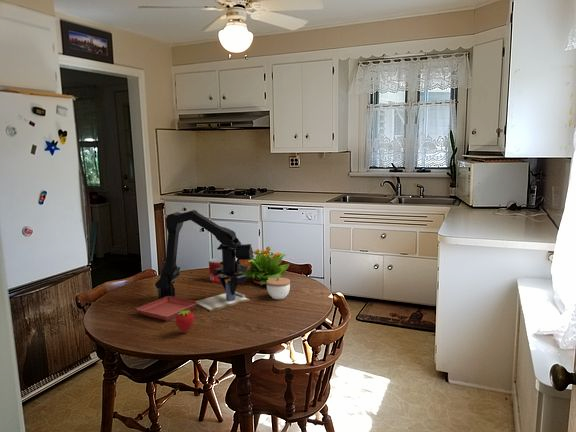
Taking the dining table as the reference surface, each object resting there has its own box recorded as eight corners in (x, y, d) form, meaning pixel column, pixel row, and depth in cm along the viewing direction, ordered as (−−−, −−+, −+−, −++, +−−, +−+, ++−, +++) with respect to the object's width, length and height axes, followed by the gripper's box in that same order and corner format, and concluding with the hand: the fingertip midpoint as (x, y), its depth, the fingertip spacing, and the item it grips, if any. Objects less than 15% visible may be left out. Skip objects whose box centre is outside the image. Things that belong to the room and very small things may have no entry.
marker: (229, 301, 193) (228, 281, 191) (224, 299, 196) (223, 279, 194) (237, 299, 195) (236, 279, 194) (232, 297, 198) (231, 277, 197)
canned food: (224, 282, 224) (223, 261, 222) (208, 283, 224) (207, 261, 222) (226, 278, 231) (225, 257, 230) (211, 278, 232) (210, 258, 230)
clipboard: (210, 311, 184) (210, 308, 183) (192, 302, 195) (192, 299, 195) (249, 300, 196) (249, 296, 196) (231, 292, 208) (230, 289, 208)
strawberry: (199, 331, 164) (197, 305, 163) (183, 338, 158) (182, 311, 156) (187, 327, 167) (186, 302, 166) (172, 334, 161) (170, 308, 160)
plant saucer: (167, 324, 172) (166, 315, 172) (135, 316, 182) (135, 308, 181) (199, 309, 188) (198, 301, 187) (168, 302, 197) (168, 295, 196)
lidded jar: (262, 299, 198) (261, 278, 197) (274, 292, 207) (273, 272, 206) (283, 302, 193) (283, 281, 192) (294, 295, 202) (294, 275, 201)
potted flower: (230, 286, 218) (228, 251, 215) (248, 273, 240) (247, 241, 238) (278, 290, 210) (277, 254, 208) (292, 276, 233) (291, 243, 230)
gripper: (256, 259, 191) (257, 294, 193) (232, 252, 205) (233, 285, 207) (235, 264, 184) (236, 300, 186) (211, 256, 198) (213, 290, 200)
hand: (230, 293), depth 195 cm, fingers closed on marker, 4 cm apart
